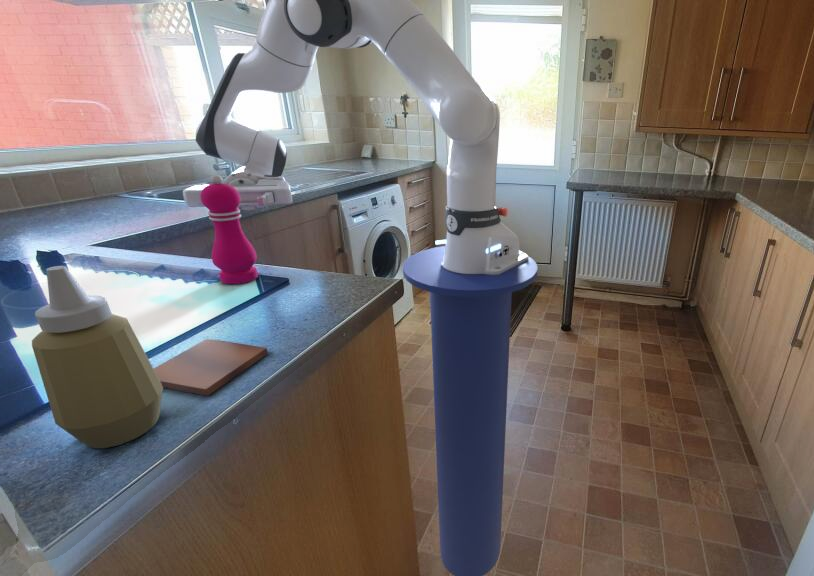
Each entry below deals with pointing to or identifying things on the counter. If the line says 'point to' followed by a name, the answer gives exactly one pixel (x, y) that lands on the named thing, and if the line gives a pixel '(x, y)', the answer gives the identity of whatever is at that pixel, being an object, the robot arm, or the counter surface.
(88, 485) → the counter surface
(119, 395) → the squeeze bottle
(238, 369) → the walnut cutting board
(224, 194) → the pepper mill
